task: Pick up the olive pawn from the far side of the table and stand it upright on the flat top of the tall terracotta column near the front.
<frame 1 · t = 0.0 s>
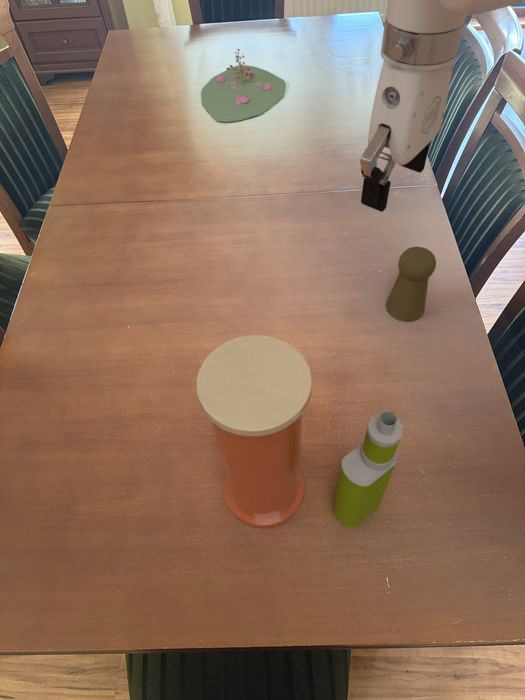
hand: (392, 186, 64), 21 cm above the table, tool pointing down, fingers open, 9 cm apart
vape: (356, 506, 61), on the table
plant: (242, 97, 124), on the table
olive pawn: (404, 308, 80), on the table
column: (264, 487, 63), on the table
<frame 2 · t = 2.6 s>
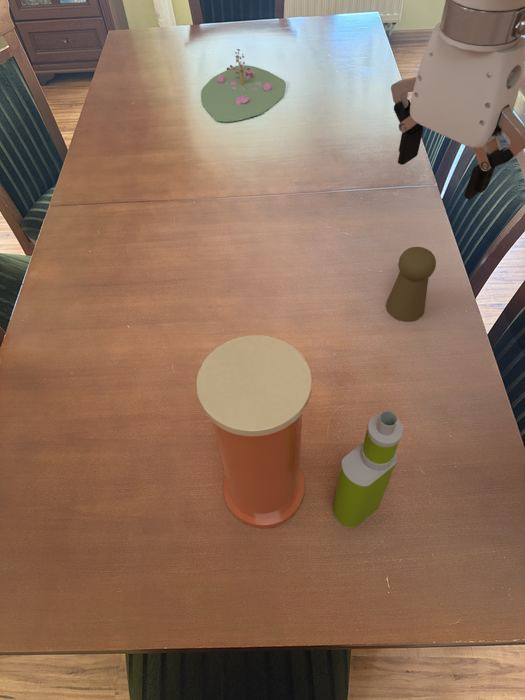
hand: (439, 176, 62), 23 cm above the table, tool pointing down, fingers open, 9 cm apart
nothing on the table moved.
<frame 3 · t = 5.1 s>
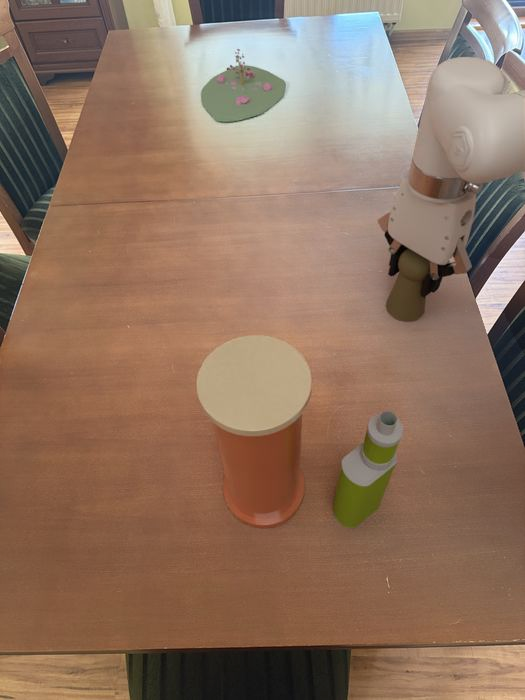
hand: (412, 280, 76), 6 cm above the table, tool pointing down, fingers closed on olive pawn, 5 cm apart
olive pawn: (404, 308, 80), on the table, touching gripper
everything else where it was.
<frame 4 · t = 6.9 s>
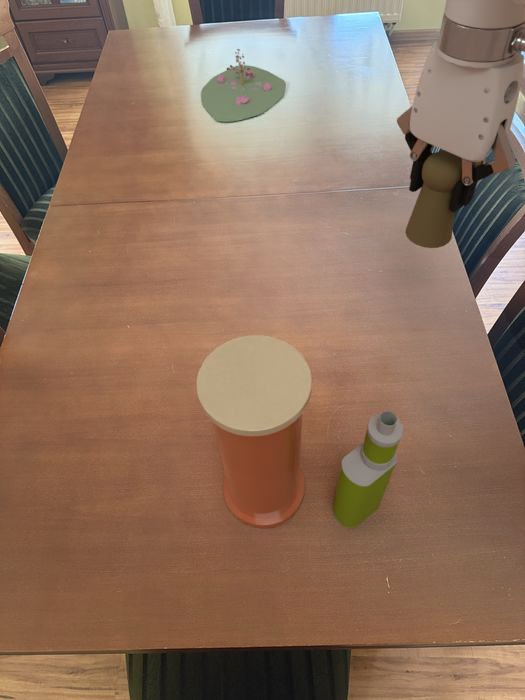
hand: (438, 195, 63), 21 cm above the table, tool pointing down, fingers closed on olive pawn, 5 cm apart
olive pawn: (428, 234, 68), point 15 cm above the table, touching gripper
everything else where it was.
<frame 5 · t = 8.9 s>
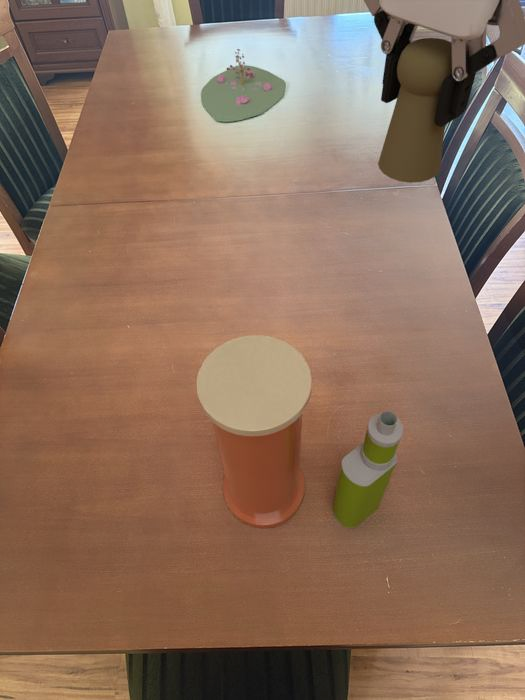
hand: (420, 106, 46), 37 cm above the table, tool pointing down, fingers closed on olive pawn, 5 cm apart
olive pawn: (408, 166, 51), point 31 cm above the table, touching gripper
everything else where it was.
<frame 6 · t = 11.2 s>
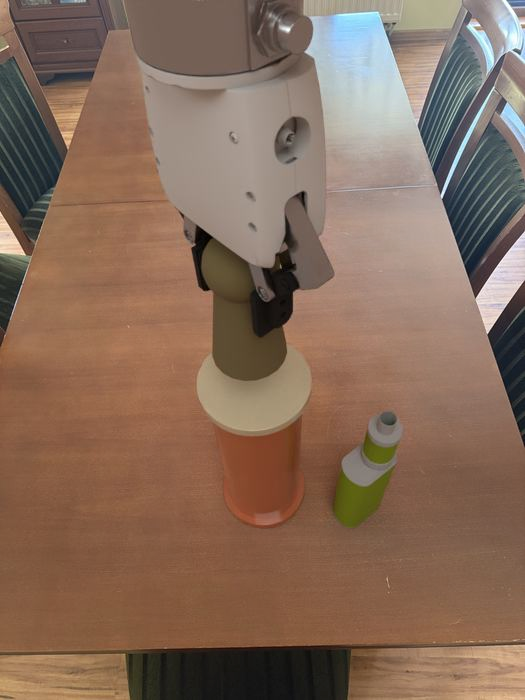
hand: (244, 300, 36), 34 cm above the table, tool pointing down, fingers closed on olive pawn, 5 cm apart
olive pawn: (249, 351, 41), point 28 cm above the table, touching gripper
everything else where it was.
when the fingers open (30 cm above the table, at t = 12.8 s): olive pawn stays where it is, resting on column.
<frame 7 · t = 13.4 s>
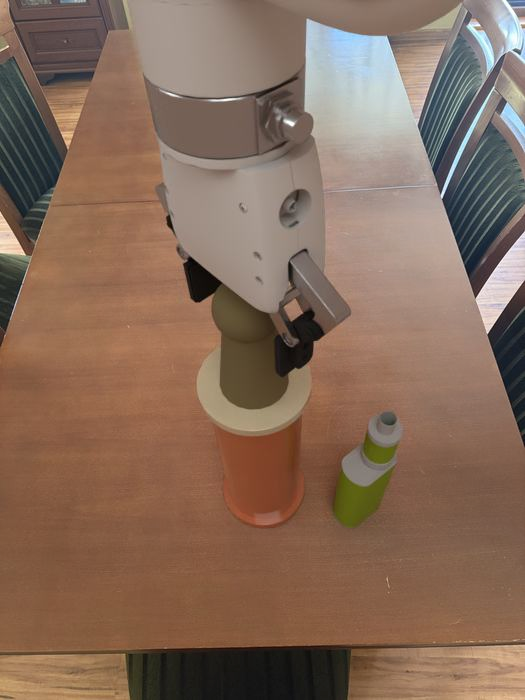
hand: (249, 326, 38), 31 cm above the table, tool pointing down, fingers open, 9 cm apart
olive pawn: (254, 380, 44), point 24 cm above the table, touching column
everything else where it was.
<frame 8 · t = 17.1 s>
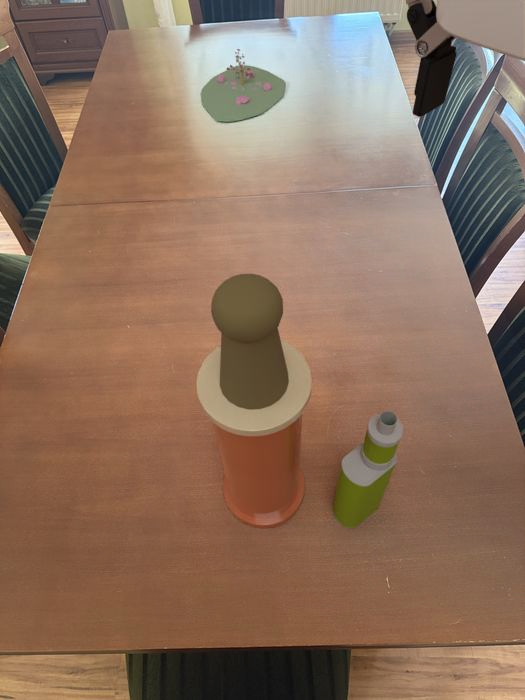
hand: (483, 133, 37), 40 cm above the table, tool pointing down, fingers open, 9 cm apart
nothing on the table moved.
at the end: olive pawn 0.0 cm off-centre on the column, point 23.8 cm above the column's base; olive pawn tilted 0° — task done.
